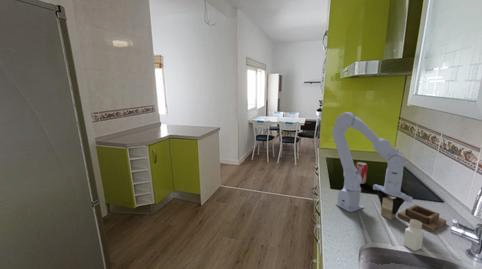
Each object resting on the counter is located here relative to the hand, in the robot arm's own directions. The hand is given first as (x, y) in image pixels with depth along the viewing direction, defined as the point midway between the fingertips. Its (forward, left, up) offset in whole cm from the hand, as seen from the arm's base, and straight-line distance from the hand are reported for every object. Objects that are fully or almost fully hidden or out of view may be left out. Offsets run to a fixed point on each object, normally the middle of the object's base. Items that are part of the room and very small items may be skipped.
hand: (388, 210), depth 93 cm
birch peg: (0, 0, -2) cm, 2 cm away
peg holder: (+9, -8, -2) cm, 12 cm away
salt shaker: (-13, -15, -3) cm, 20 cm away
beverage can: (+23, +29, -3) cm, 37 cm away
